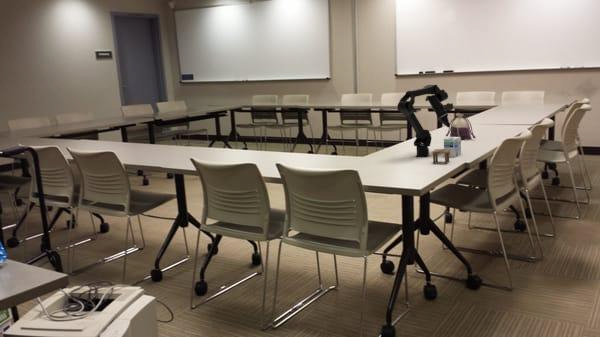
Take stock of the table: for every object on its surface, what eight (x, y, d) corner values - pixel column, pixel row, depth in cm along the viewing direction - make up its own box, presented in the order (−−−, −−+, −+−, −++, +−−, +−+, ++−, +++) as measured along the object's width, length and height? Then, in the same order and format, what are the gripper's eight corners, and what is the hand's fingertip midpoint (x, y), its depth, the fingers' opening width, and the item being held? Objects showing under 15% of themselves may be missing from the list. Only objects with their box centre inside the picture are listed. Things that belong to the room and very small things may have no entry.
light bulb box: (454, 157, 306) (454, 139, 304) (443, 157, 310) (443, 139, 308) (461, 154, 314) (461, 136, 312) (450, 154, 318) (450, 136, 316)
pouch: (441, 139, 378) (441, 113, 374) (447, 137, 383) (447, 111, 380) (474, 141, 360) (473, 113, 356) (479, 139, 366) (479, 112, 362)
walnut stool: (432, 163, 292) (432, 151, 291) (435, 161, 299) (435, 149, 298) (447, 164, 288) (447, 151, 287) (449, 161, 296) (449, 149, 294)
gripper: (448, 96, 307) (462, 119, 306) (447, 99, 326) (460, 120, 324) (431, 105, 310) (444, 128, 308) (431, 108, 328) (444, 130, 327)
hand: (449, 126), depth 317 cm, fingers open, 9 cm apart
